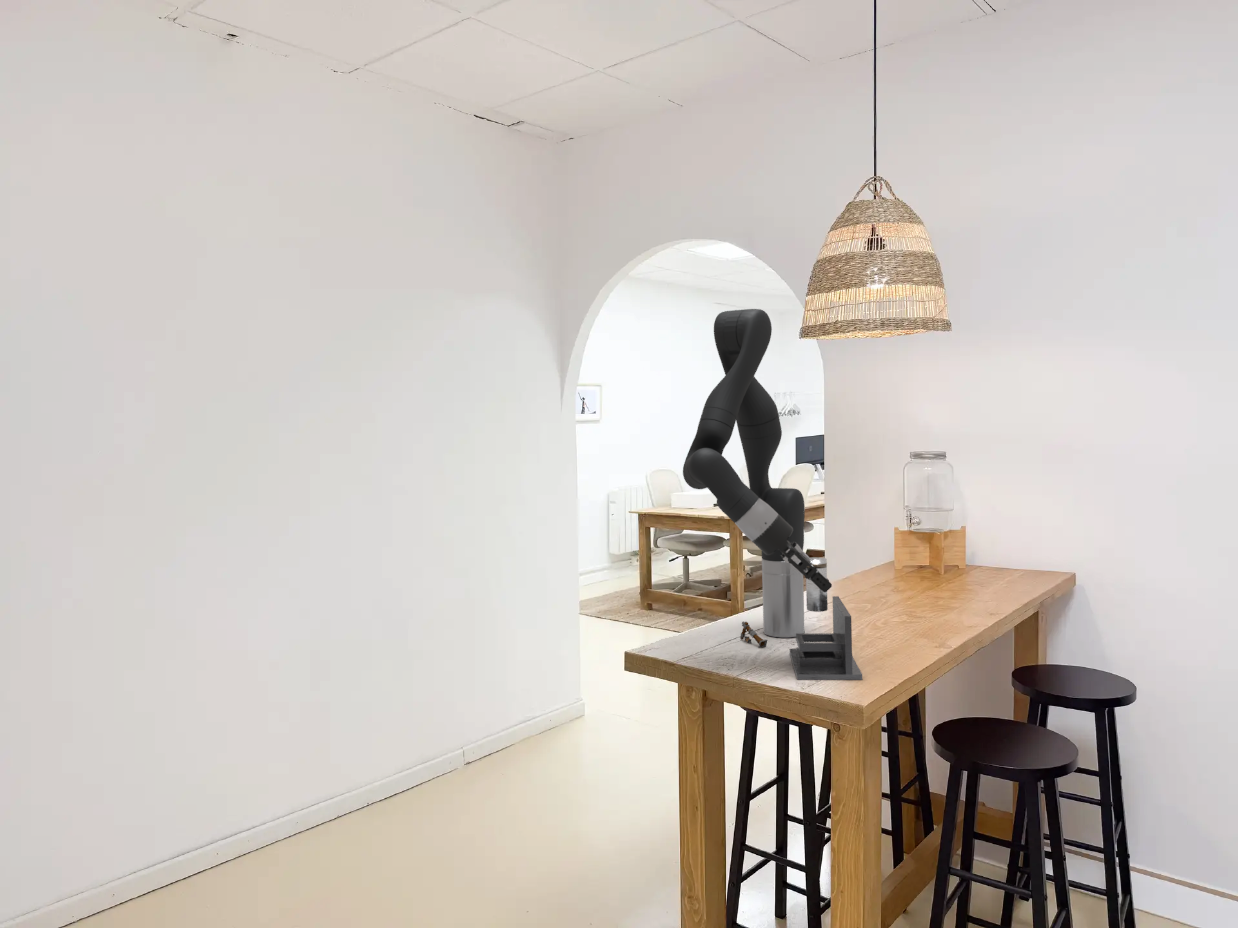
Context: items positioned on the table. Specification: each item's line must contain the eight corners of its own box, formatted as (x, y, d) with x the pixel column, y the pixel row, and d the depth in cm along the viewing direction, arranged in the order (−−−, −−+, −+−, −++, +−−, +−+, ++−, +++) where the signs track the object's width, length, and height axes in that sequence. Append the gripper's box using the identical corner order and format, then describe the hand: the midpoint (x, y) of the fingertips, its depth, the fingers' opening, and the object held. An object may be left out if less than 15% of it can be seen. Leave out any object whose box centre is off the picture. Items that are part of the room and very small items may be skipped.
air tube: (805, 607, 171) (804, 557, 171) (826, 607, 171) (825, 557, 170) (807, 611, 167) (806, 560, 167) (829, 611, 167) (827, 560, 166)
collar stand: (789, 653, 179) (788, 596, 179) (848, 653, 178) (847, 596, 177) (797, 679, 161) (795, 616, 161) (862, 679, 160) (861, 616, 159)
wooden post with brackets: (742, 634, 193) (746, 618, 191) (763, 656, 186) (767, 639, 184) (735, 636, 192) (740, 619, 190) (756, 657, 185) (761, 640, 184)
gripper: (779, 516, 162) (846, 579, 161) (774, 509, 176) (836, 567, 175) (751, 544, 163) (817, 607, 162) (749, 535, 177) (810, 593, 176)
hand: (826, 586), depth 169 cm, fingers closed on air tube, 4 cm apart
